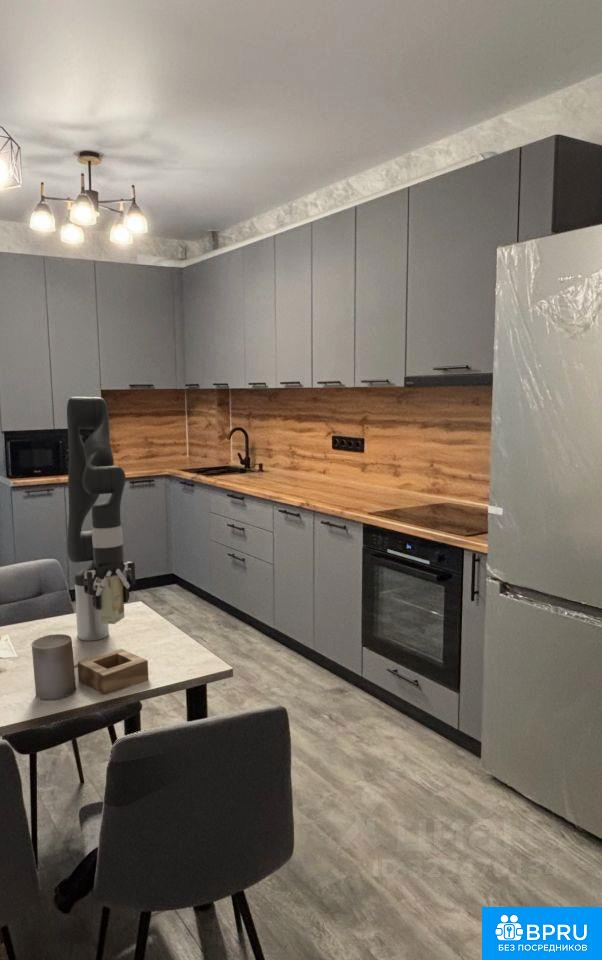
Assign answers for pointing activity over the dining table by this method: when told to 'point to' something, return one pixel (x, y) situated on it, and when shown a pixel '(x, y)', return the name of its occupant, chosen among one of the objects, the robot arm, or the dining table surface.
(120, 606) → the skincare box
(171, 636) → the dining table surface
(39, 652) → the pillar candle
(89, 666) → the socket block
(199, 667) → the dining table surface
